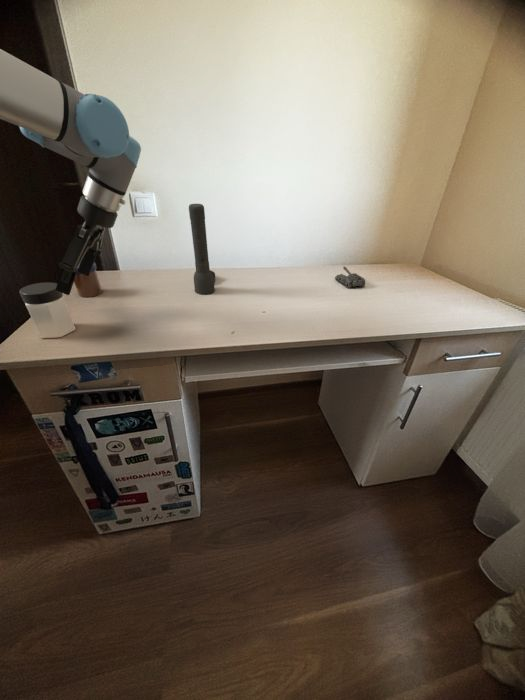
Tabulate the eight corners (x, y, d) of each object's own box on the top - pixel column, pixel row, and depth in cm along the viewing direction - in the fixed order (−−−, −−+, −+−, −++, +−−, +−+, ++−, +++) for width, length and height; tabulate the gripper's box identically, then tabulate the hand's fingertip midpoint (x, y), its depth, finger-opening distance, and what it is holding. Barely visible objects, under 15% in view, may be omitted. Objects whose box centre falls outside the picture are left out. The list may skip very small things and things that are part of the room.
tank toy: (331, 279, 118) (334, 266, 115) (351, 277, 120) (354, 265, 117) (346, 289, 108) (349, 276, 105) (367, 288, 110) (371, 275, 108)
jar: (61, 320, 80) (44, 279, 73) (83, 326, 78) (68, 284, 71) (29, 335, 73) (8, 291, 66) (53, 342, 70) (33, 297, 64)
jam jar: (80, 299, 92) (70, 270, 87) (77, 292, 97) (67, 264, 92) (104, 294, 96) (96, 267, 91) (99, 288, 101) (92, 261, 96)
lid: (70, 275, 87) (68, 269, 87) (67, 268, 93) (65, 263, 92) (99, 271, 92) (97, 265, 91) (94, 264, 97) (92, 259, 96)
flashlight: (192, 293, 100) (211, 295, 99) (180, 206, 82) (203, 208, 82) (198, 285, 105) (217, 287, 104) (189, 201, 88) (211, 203, 87)
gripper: (101, 222, 55) (70, 309, 63) (130, 206, 75) (103, 273, 84) (58, 199, 52) (31, 293, 60) (100, 189, 72) (76, 260, 80)
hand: (73, 282), depth 72 cm, fingers open, 13 cm apart
